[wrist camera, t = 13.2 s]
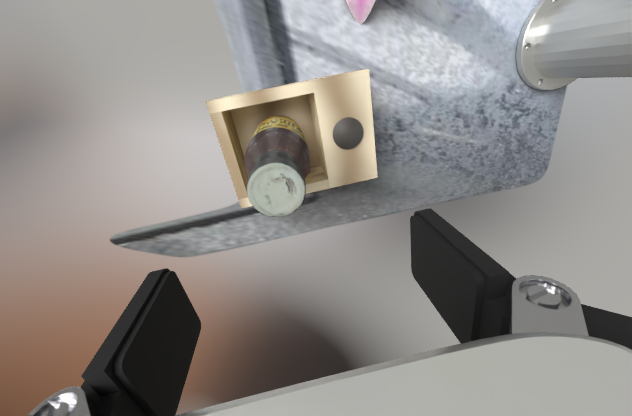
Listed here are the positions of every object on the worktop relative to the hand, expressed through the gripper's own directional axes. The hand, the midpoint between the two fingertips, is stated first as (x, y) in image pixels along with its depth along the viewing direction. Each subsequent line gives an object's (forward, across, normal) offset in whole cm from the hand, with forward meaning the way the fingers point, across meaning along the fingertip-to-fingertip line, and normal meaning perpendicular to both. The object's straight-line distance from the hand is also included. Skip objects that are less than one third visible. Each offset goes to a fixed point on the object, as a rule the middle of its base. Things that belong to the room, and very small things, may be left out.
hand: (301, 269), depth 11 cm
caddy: (+29, -2, 0) cm, 29 cm away
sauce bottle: (+29, +1, 0) cm, 29 cm away
